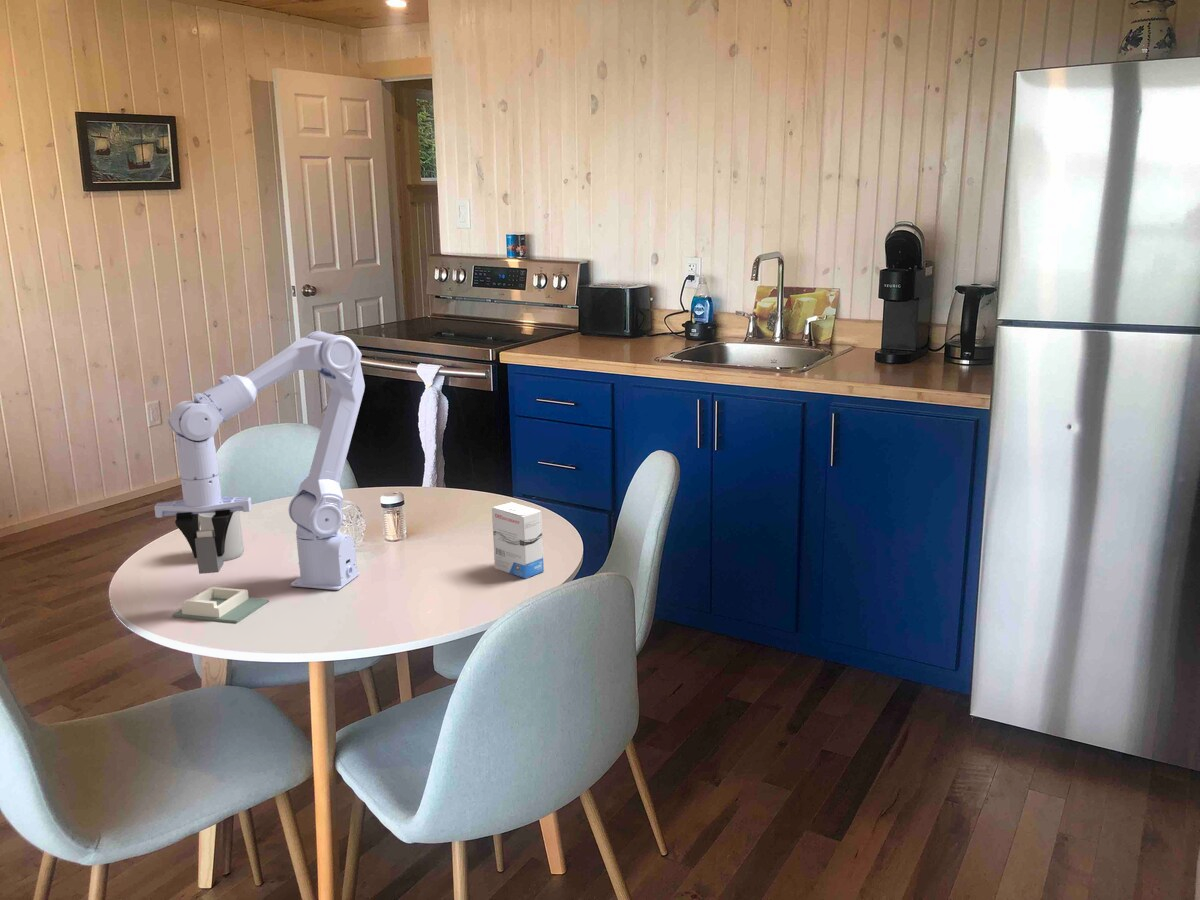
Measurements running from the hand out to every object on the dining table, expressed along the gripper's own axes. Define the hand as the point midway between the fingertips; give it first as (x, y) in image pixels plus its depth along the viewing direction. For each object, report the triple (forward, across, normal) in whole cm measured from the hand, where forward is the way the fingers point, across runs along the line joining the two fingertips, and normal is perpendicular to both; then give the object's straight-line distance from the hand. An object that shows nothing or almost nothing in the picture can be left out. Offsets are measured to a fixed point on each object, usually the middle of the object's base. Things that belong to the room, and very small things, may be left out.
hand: (209, 555), depth 159 cm
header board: (+9, -1, 0) cm, 9 cm away
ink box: (+10, -51, -7) cm, 52 cm away
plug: (+2, 0, 0) cm, 2 cm away
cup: (+10, +5, -28) cm, 30 cm away
